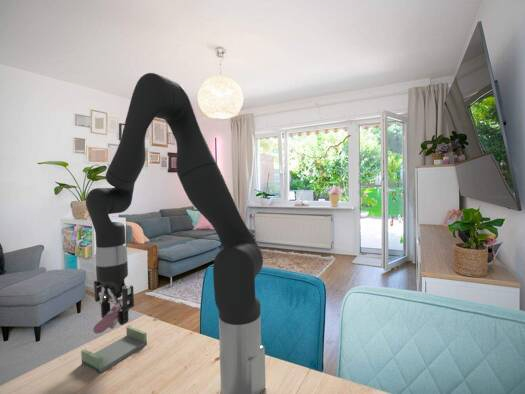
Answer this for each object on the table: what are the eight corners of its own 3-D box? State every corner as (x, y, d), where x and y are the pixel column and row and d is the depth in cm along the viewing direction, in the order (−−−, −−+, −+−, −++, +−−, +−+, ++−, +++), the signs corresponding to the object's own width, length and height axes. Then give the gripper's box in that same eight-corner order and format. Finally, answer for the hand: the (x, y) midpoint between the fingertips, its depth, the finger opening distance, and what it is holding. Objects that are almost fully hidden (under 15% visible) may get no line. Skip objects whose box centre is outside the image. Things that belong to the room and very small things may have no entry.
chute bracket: (146, 344, 79) (146, 332, 78) (100, 373, 67) (99, 359, 67) (129, 337, 82) (128, 326, 82) (81, 363, 70) (81, 350, 70)
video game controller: (105, 340, 69) (116, 316, 69) (90, 332, 69) (100, 309, 69) (127, 321, 79) (137, 300, 78) (114, 314, 79) (123, 293, 79)
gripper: (141, 260, 73) (143, 320, 74) (109, 255, 80) (111, 309, 81) (115, 268, 67) (118, 333, 67) (82, 261, 73) (85, 320, 74)
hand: (114, 320), depth 74 cm, fingers closed on video game controller, 7 cm apart
